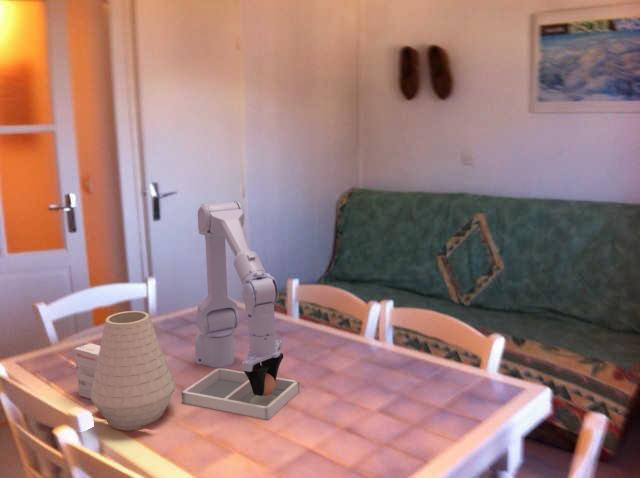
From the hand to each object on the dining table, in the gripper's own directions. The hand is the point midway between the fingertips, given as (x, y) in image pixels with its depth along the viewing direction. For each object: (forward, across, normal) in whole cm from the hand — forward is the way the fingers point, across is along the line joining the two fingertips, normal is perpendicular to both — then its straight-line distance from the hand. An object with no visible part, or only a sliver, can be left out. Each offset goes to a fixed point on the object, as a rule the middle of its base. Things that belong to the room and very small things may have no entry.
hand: (264, 389), depth 145 cm
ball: (+1, 0, 0) cm, 1 cm away
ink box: (+4, -10, +39) cm, 40 cm away
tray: (+4, 0, +6) cm, 7 cm away
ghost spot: (+3, 0, 0) cm, 3 cm away
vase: (+4, -16, +23) cm, 28 cm away
